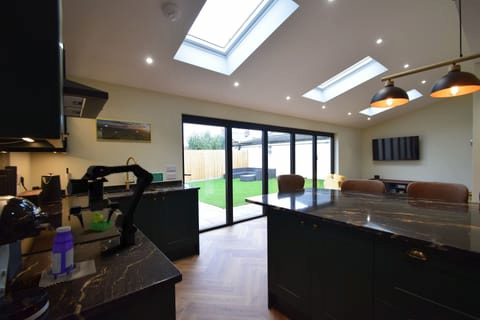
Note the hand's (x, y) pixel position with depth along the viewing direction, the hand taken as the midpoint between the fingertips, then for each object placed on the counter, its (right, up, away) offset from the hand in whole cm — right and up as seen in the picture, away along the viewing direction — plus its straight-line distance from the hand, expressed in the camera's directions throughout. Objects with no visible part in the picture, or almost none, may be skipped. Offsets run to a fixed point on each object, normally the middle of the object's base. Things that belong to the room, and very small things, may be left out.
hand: (95, 226), depth 95 cm
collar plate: (+1, -13, -16) cm, 20 cm away
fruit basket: (-23, -14, +37) cm, 45 cm away
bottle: (0, -12, -18) cm, 22 cm away
